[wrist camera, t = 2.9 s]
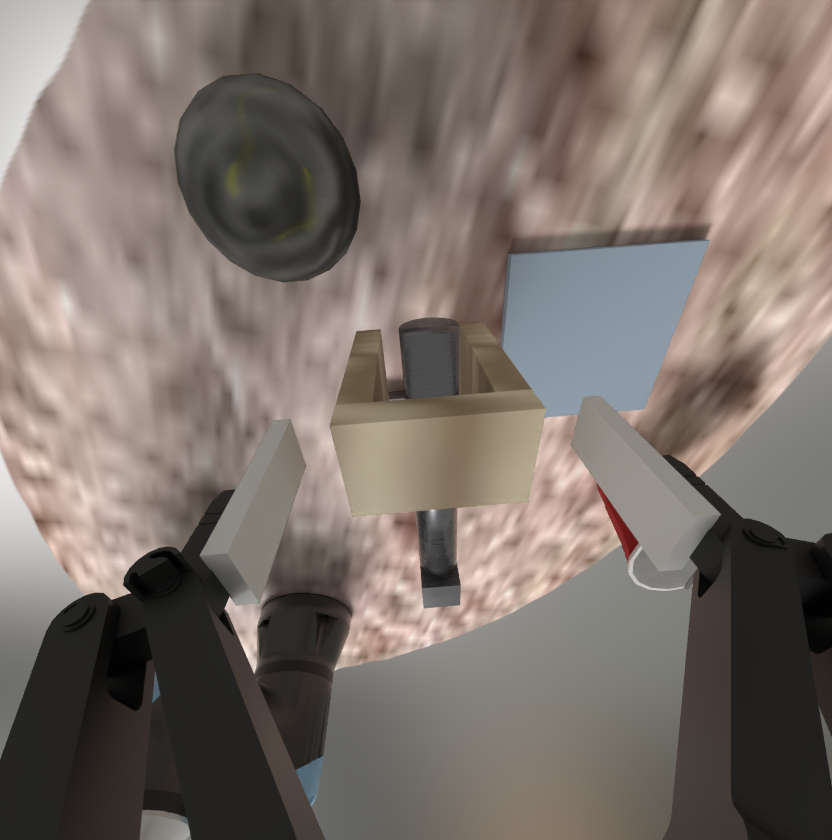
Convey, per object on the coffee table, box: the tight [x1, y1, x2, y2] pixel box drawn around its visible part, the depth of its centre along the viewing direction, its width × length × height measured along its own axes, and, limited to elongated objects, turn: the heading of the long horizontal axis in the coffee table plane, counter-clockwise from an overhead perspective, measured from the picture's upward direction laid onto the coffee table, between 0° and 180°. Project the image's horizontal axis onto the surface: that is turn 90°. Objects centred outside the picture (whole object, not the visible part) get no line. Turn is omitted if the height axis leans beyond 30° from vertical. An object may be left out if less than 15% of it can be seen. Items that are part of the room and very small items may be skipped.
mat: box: [500, 239, 710, 417], centre depth 31 cm, size 16×16×1 cm
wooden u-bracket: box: [330, 321, 546, 517], centre depth 18 cm, size 8×5×10 cm, turn 93°
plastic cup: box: [597, 483, 697, 591], centre depth 37 cm, size 11×11×12 cm
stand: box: [388, 318, 461, 608], centre depth 25 cm, size 10×22×18 cm, turn 3°
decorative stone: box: [174, 73, 361, 282], centre depth 20 cm, size 10×10×10 cm
